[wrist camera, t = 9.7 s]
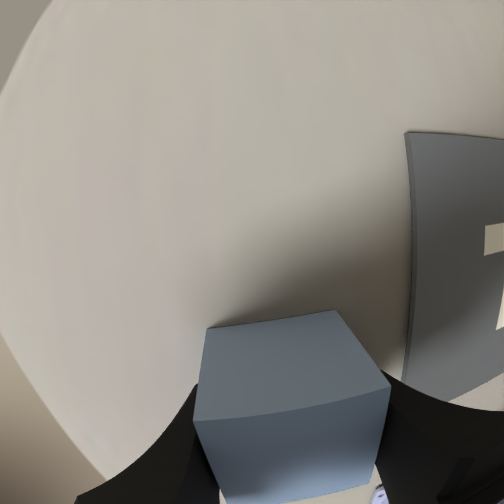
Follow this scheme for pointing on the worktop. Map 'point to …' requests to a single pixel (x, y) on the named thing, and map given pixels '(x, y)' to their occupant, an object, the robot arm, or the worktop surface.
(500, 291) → the letter mat
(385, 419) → the robot arm
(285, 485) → the blue cube
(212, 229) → the worktop surface
